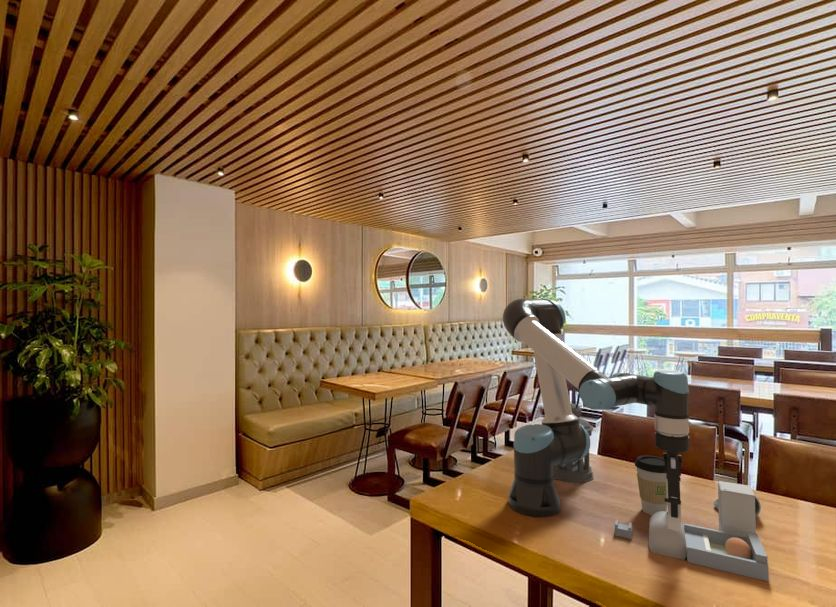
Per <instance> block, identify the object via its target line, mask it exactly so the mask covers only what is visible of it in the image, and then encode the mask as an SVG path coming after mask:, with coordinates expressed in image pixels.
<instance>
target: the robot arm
mask: <svg viewBox="0 0 836 607" xmlns="http://www.w3.org/2000/svg"><path fill="white" fill-rule="evenodd" d="M502 323H503V326H504V328H505V329H506V331H507V332H508V333H509V335H510V336H511V337H512V338H514V339H515V340H516V341H517V342H519V343H522V342H523V343H524V344H525V345H526V346H527V347H528V348H530V349H531V350H532V351H533V356H534V361H535V366H536V367H535V368H536V372H537V377H538V382H539V388H540V395H541V399H542V400H541V401H542V405H543V411H544V417H543V419H542V420H541V424H540V423H538V424H537V423H535V424H526V425H522V426H520V427H519V428H517V429H516V430H515V432H514V435H513V443H512V444H513V460H514V461H513V463H514V464H513V466H514V467H513V468H514V470H513V471H514V472H513V473H514V479H513V482H512V484H511V487H510V488H511V489H510V491H509V494H508V504H509V506H510V508H512V509H513V510H514V511H515V512H517V513H520V514H523V515H525V516H530V517H537V518H539V517H540V518H543V517H551V516H554V515H556V514H558V513H559V512H560V510H561V500H560V496H559V493H558V490H557V488H556V487H557V486H556V484H555V479H554V467H556V466H560V465H564V464H567V463H573V462H576V461H578V460H580V459H582V458H583V459H584V457H585V456H586V455H587V453H588V452H589V453H590V449H591V436H589V434H588V431H587V430H586V429H584V426H583V425H581V424H579V420H578V417H576V416H575V415H574V414H573V413H572V409H571V404H570V403H571V401H570V400H571V399H570V395H569V391H568V389H569V388H568V385H567V381H568V382H569V383H570V384H571V385H572V386H575V387H576V388H577V389H578V390H579V395H580V399H581V402H582V404H583V405H584V407H586V408H588V409H590V410H593V411H594V410H595V411H596V410H597V411H598V410H608V409H610V408H614V407H620V406H626V405H630V404H641V405H647V406H652V407H653V408H654V409H653V410H654V415H653V416H654V417H653V418H654V422H653V423H654V430H655V432H654V444H655V447H656V448H658V449H660V450H662V451H663V450H664V451H665V452H663V453H662V455H663V457H662V458H663V459H664V464H665V473H666V474H667V475H666V478H667V479H668V480H666V490H667V498H665V502H667V512H668V529H672V530H676V531H681V522H682V500H681V476H682V465H683V459H682V455H681V454H679V453H687V452H689V451H690V449H691V447H690V436H689V433H690V426H692V425H693V422H692V421H691V420H690V419H689V418H690V414H689V413H690V412H689V405H690V404H689V403H690V402H689V395H690V389H689V381H688V376H687V374H686V373H685V372H683V371H678V370H666V369H664V370H661V369H660V370H659V369H658V370H655V371H654V372H653V376H647V375H639V374H631V373H630V372H615V373H613V375H612V376H610V377H609V376H607V375H605V373H602V372H601V371H600V370H599V369H597V368H596V367H595V366H594V365H592V364H591V363H590V362H588V361H587V360H586V359H585V358H583V356H581V355H580V354H579V353H577V352H576V351H574V349H572V348H571V347H570V346H568V345H567V344H566V343H565V342H563V340H561V339H560V338H561V337H562V329H563V328H564V327H565V324H566V313H565V310H564V309H563V306H562V305H561V304H560V303H559V302H557V301H555V300H553V299H548V298H519V299H515V300H512V301H511V302H509V303H508V304H507V305H506V306H505V308H504V310H503V314H502ZM565 378H566V379H567V380H566V379H565ZM575 387H574V388H575ZM576 388H575V389H576ZM577 389H576V390H577ZM578 390H577V391H578Z"/></svg>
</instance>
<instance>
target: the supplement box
mask: <svg viewBox="0 0 836 607" xmlns="http://www.w3.org/2000/svg"><path fill="white" fill-rule="evenodd" d="M717 491H718V492H717V495H718V496H717V499H718V504H719V509H718V530H719V531H724V532H729V533H734V534H738V535H743V536H747V532H752V533H757V530H756V529H757V527H756V522H757V521H756V517H755V495H756V494H755V492H754V491H753V488H752V486H751V485H747V484H742V483H737V482H736V483H735V482H727V481H722V480H718V482H717ZM754 494H755V495H754Z"/></svg>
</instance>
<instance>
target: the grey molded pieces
mask: <svg viewBox="0 0 836 607" xmlns="http://www.w3.org/2000/svg"><path fill="white" fill-rule="evenodd" d="M650 516H651V517H650V519H649V524H648V525H649V526H648V528H649V529H648V546H649V547H648V548H649V550H650V553H655V554H659V555H663V556H668V557H671V558H676V559H679V560H685V559H686V560H687V561H686V562H687V563H690V564H694V565H698V566H702V567H707V568H710V569H715V570H719V571H723V572H726V573H732V574H735V575H740V576H744V577H748V578H751V579H756V580H761V581H765V582H770V580H769V577H770V576H769V564H768V563H769V562H768V555H767V553H766V551H765V548H764V545H763V543H762V542H761V539H760V537H759V535H758V533H757V532H756V533H752V532H747V536H743V535H738V534H734V533H729V532H724V531H720V529H713V528H709V527H703V526H700V525H699V526H698V525H694V524H689V523H683V522H682V521H681V531H676V530H672V529H668V511H667V512H666V511H659V512H656V513H654V514H653V515H650ZM632 525H633V523H632V522H628V524H624V523H619V520H618V519H615V522H614V536H617V537H621V538H624V539H630V540H632V538H633V526H632ZM730 538H739V539H742V540H743V541H745V542H746V543H747V544H748V545H749V547H750V549H751V552H752V555H751V558H750V559H745V558H740V557H736V556H731V555H728V553H727V552H726V549H725V543H726V541H727V540H728V539H730Z"/></svg>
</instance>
